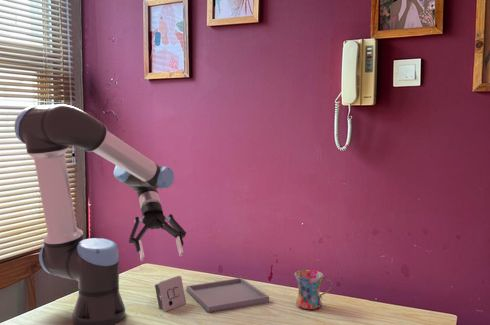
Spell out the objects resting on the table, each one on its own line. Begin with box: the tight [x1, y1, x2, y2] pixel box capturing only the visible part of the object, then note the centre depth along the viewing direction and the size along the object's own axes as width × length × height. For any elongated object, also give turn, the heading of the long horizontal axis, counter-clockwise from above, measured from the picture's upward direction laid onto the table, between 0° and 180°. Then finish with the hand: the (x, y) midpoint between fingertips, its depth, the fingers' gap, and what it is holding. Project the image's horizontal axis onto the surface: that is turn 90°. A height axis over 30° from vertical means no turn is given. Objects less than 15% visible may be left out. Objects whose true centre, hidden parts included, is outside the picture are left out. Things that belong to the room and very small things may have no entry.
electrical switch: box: [154, 275, 187, 312], centre depth 147 cm, size 9×5×9 cm, turn 141°
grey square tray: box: [185, 277, 270, 314], centre depth 155 cm, size 22×22×2 cm
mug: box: [294, 269, 333, 310], centre depth 147 cm, size 12×9×11 cm
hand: (162, 256), depth 155 cm, fingers open, 13 cm apart
